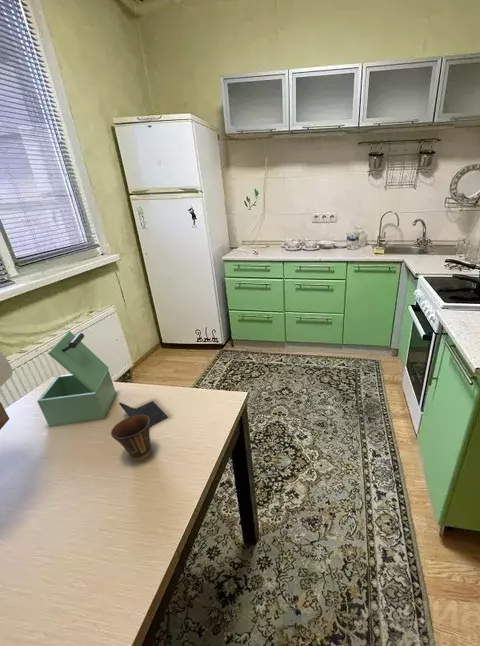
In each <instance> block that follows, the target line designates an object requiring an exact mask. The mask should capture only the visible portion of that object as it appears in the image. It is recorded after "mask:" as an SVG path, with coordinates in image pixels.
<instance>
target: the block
mask: <svg viewBox="0 0 480 646" xmlns="http://www.w3.org/2000/svg"><path fill="white" fill-rule="evenodd" d="M8 421H10V417H9V415H8V413H7V411H6V409H5V407H4V406H3V403H2V402H1V401H0V431H1V430H2V428H3V427H4V426H5V425H6V424H7V423H8Z"/></svg>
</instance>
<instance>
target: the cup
mask: <svg viewBox="0 0 480 646" xmlns="http://www.w3.org/2000/svg"><path fill="white" fill-rule="evenodd" d="M150 428H151V427H150V418H149V417H148V416H146V415H136V416H131V417H129V416H128V417H126V418H124V419H123V420H121V421H120V422H118V423H117V424H115V426H114V427H113V428H112V429H111V431H110V435H111V437H112V439H114V440H115V441H117V443H119V444H120V445H121V446H122V447H123V449H124V450H125V451H126V452H127V454H128V456H129V457H130V459H131V460H132V461H134V462H136V463H140V462H143V461H145V460H147V459H149V457H151V455H152V454H153V449H152V444H151V438H150V436H151V435H150Z"/></svg>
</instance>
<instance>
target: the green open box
mask: <svg viewBox="0 0 480 646" xmlns="http://www.w3.org/2000/svg"><path fill="white" fill-rule="evenodd" d="M112 379H113V378H112V377H111V373H110V371H109V369H108V370H107V372H106V374H105V376H104V378H103V379H102V381H101V383H100V385H99V387H98V388H97V390H96V392H94V393H93V392H92V391H91V390H90V389H88V388H87V387H86V386H85V385H84V384H83V383H81V382H80V381H79V380H78V379H77V378H76V377H75V376H73V375H72V374H71V373H70V374H62V375H56V376H55V378H54V379H53V381H52V382H51V383H50V385H49V386H48V387H47V388H46V389H45V390H44V392H43V393H42V394H41V396H40V397H39V398H38V400H36V401H37V404H38V406H39V408H40V410H41V413H42V415H43V416H44V419H45V421H46V423H47V425H48V427H56V426H63V425H69V424H76V423H83V422H91V421H96V420H103V419H105V417H106V416H107V414H108V412H109V409H110V407H111V405H112V403H113V401H114V398H115V397H116V395H117V394H116V393H117V392H116V389H115V386H114V383H113V380H112Z"/></svg>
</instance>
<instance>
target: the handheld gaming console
mask: <svg viewBox="0 0 480 646" xmlns="http://www.w3.org/2000/svg"><path fill="white" fill-rule="evenodd" d="M118 405H119V406H120V407H121V409H122V410H123V411H124V413H126V414H127V416H128V418H129V417H131V416H136V415H146V416H148V417H149V418H150V427H149V428H151V427H154V426H155V425H157V424H159V423H161V422H162V421H165V420H166V419H169V416H168V415H167V414H166V413H165V412H164V410H162V409H161V408H160V407H159V405H157V404H156V402H155V401H154V400H151V401H150V402H147V403H146V404H143V405H141V406H139V407H132V406H130V405H128V404H125V403H123V402H119V403H118Z"/></svg>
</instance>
